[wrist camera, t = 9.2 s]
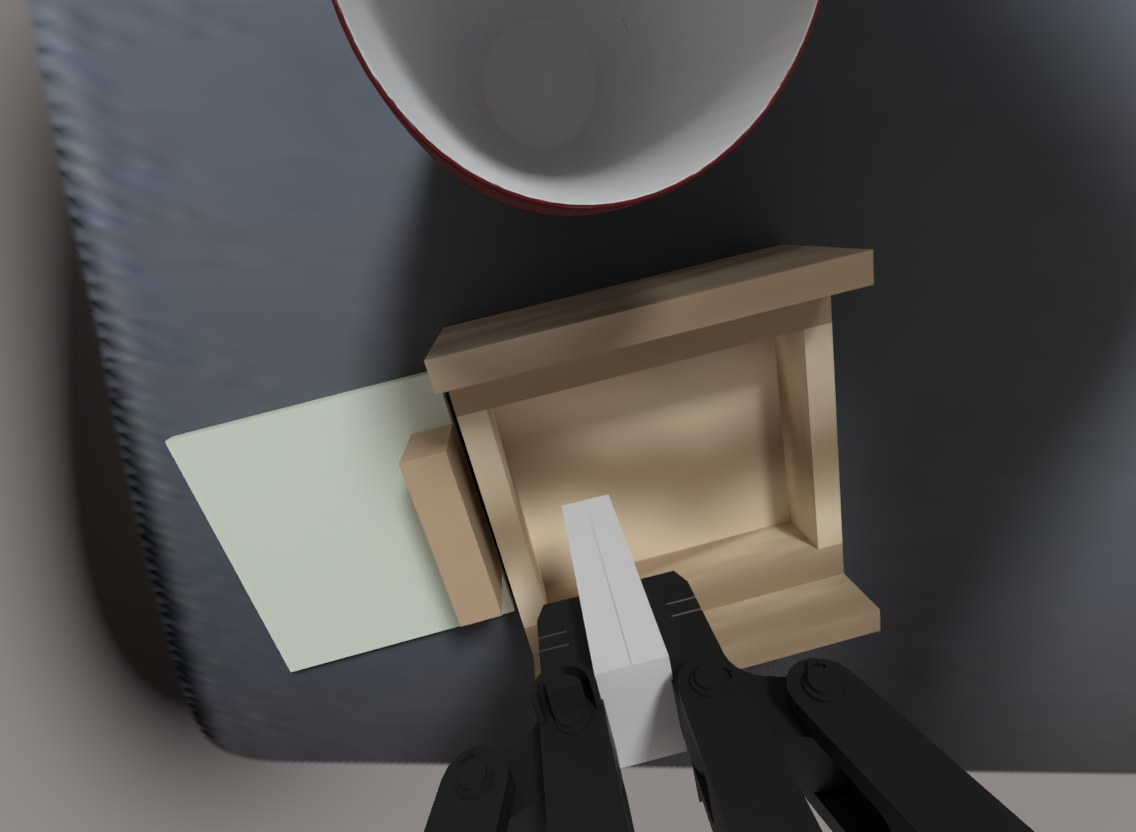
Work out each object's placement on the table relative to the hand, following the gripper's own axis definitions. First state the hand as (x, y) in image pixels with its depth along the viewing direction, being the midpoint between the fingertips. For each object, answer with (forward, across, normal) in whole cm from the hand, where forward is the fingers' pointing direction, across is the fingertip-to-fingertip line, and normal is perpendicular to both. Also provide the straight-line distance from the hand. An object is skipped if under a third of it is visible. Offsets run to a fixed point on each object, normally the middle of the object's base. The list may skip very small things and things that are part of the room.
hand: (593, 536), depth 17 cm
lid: (+6, -9, 0) cm, 11 cm away
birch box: (+6, +3, 0) cm, 6 cm away
